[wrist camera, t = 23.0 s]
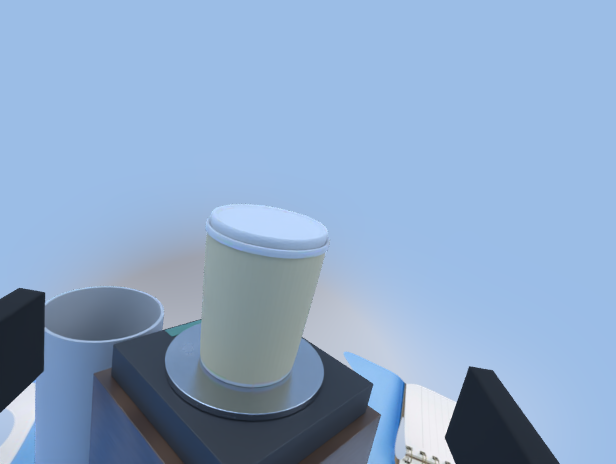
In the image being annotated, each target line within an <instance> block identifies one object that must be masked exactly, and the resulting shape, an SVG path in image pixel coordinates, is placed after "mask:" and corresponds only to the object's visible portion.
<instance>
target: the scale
mask: <svg viewBox="0 0 616 464" xmlns="http://www.w3.org/2000/svg"><path fill="white" fill-rule="evenodd" d="M201 321H202V319H200V320H196V321H193V322H189V323H186V324H182V325H179V326H176V327H172V328H168V329H165V330H161V331H158V332H154V333H151V334H147V335H144V336H141V337H137V338H134V339H130V340H127V341H123V342H120V343H116V344H113V355H112V370H111V376H112V377H113V378H114V379H115V380H116V382H117V383H118V384H119V385H120V386H121V388H122V389H123V390H124V391H125V392H126V394H127V395H128V396H129V397H130V399H131V400H132V401H133V402H134V403H135V405H136V406H137V407H138V408H139V409H140V411H141V412H142V413H143V414H144V415H145V417H146V418H147V419H148V420H149V422H150V423H151V424H152V425H153V426H154V428H155V429H156V430H157V431H158V432H159V434H160V435H161V436H162V437H163V438H164V440H165V441H166V442H167V443H168V444H169V446H170V447H171V448H172V449H173V451H174V452H175V453H176V454H177V455H178V457H179V458H180V459H181V460H182V461H183V463H184V464H298V463H299V462H301V461H302V460H303V459H305V458H306V457H307V456H309V455H310V454H311V453H313V452H314V451H315V450H316V449H318V448H319V447H320V446H322V445H323V444H324V443H326V442H327V441H328V440H330V439H331V438H332V437H334V436H335V435H336V434H338V433H339V432H340V431H342V430H343V429H344V428H346V427H347V426H348V425H349V424H351V423H352V422H353V421H355V420H356V419H357V418H359V417H360V416H361V415H363V414H364V413H365V412H366V409H367V405H368V401H369V398H370V394H371V390H372V387H373V383H371V382H370V381H368V380H367V379H365V378H364V377H362V376H361V375H359V374H358V373H356V372H354V371H353V370H351V369H350V368H348V367H347V366H345V365H343V364H342V363H341V362H339V361H338V360H336V359H335V358H333V357H332V356H330V355H328V354H327V353H326V352H324V351H322V350H321V349H319V348H318V347H316V346H315V345H313V344H312V343H310V342H308V341H307V340H306V339H304V338H303V337H302V338H303V339H304V340H306V341H307V342H308V343H309V344H310V345H311V346H312V347H313V348H314V349H315V350H316V352H317V353H318V355H319V356H320V358H321V361H322V364H323V368H324V378H323V383H322V386H321V389H320V391H319V393H318V394H317V396H316V397H315V399H314V400H313V401H312V402H311V403H310V404H308V405H307V406H306V407H304V408H303V409H301V410H299V411H297V412H295V413H293V414H290V415H287V416H285V417H281V418H276V419H271V420H263V421H244V420H234V419H228V418H223V417H220V416H216V415H213V414H210V413H207V412H205V411H202V410H200V409H198V408H196V407H194V406H193V405H191V404H190V403H188V402H187V401H185V400H184V399H183V398H181V397H180V396H179V395H178V394H177V393H176V392H175V391H174V389H173V388H172V387H171V385H170V384H169V382H168V380H167V377H166V374H165V369H164V363H165V355H166V351H167V349H168V347H169V345H170V343H171V342H172V341H173V340H174V339H175V337H176V336H178V335H179V334H180V333H181V332H183V331H185V330H186V329H188V328H190V327H192V326H194V325H197V324H200V323H201Z"/></svg>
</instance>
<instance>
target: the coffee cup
mask: <svg viewBox="0 0 616 464" xmlns="http://www.w3.org/2000/svg"><path fill="white" fill-rule="evenodd" d="M206 231H207V239H206V252H205V267H204V285H203V302H202V321H201V340H200V357H201V362H202V364H203V366H204V368H205V369H206V370H207V371H208V372H209V373H210V374H211V375H212V376H214V377H215V378H217V379H219V380H221V381H223V382H225V383H228V384H232V385H235V386H240V387H250V388H255V387H265V386H269V385H272V384H275V383H277V382H279V381H281V380H283V379H284V378H285V377H286V376H287V375H288V374H289V373H290V371H291V369H292V367H293V364H294V361H295V358H296V355H297V351H298V348H299V344H300V341H301V338H302V334H303V331H304V327H305V324H306V320H307V317H308V314H309V310H310V307H311V303H312V300H313V296H314V292H315V289H316V285H317V282H318V278H319V275H320V271H321V267H322V264H323V260H324V256H325V252H326V251H327V250H328V248H329V244H330V240H329V237H328V231H327V229H326V227H325V226H324V225H323V224H321V223H320V222H318V221H316V220H314V219H312V218H310V217H307V216H305V215H302V214H299V213H295V212H292V211H289V210H284V209H280V208H275V207H269V206H261V205H250V204H231V205H224V206H220V207H217V208H216V209H214V210H213V211H212V213H211V216H210V217H209V218H208V219H207V221H206Z"/></svg>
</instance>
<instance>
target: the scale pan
mask: <svg viewBox="0 0 616 464" xmlns="http://www.w3.org/2000/svg"><path fill="white" fill-rule="evenodd" d="M200 340H201V323H200V324H197V325H194V326H192V327H190V328H188V329H186V330H185V331H183V332H181V333H180V334H179V335H178V336H176V337H175V339H174V340H173V341H172V342H171V343H170V345H169V347H168V349H167V351H166V355H165V363H164V369H165V374H166V377H167V380H168V382H169V384H170V385H171V387H172V388H173V389H174V391H175V392H176V393H177V394H178V395H179V396H180V397H181V398H183V399H184V400H185V401H187V402H188V403H190V404H191V405H193V406H194V407H196V408H198V409H200V410H202V411H205V412H207V413H210V414H213V415H216V416H220V417H223V418H228V419H234V420H244V421H263V420H271V419H276V418H281V417H285V416H287V415H290V414H293V413H295V412H297V411H299V410H301V409H303V408H304V407H306V406H307V405H308V404H310V403H311V402H312V401H313V400H314V399H315V397H316V396H317V394H318V393H319V391H320V389H321V386H322V383H323V378H324V368H323V364H322V361H321V358H320V356H319V355H318V353H317V352H316V350H315V349H314V348H313V347H312V346H311V345H310V344H309V343H308V342H307V341H306V340H304V339H303V338H301V341H300V344H299V348H298V351H297V355H296V358H295V361H294V364H293V367H292V369H291V371H290V373H289V374H288V375H287V376H286V377H285V378H284V379H283V380H281V381H279V382H277V383H275V384H272V385H269V386H265V387H255V388H250V387H240V386H235V385H232V384H228V383H225V382H223V381H221V380H219V379H217V378H215V377H214V376H212V375H211V374H210V373H209V372H208V371H207V370H206V369H205V368H204V366H203V364H202V362H201V357H200Z"/></svg>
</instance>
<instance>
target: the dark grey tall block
mask: <svg viewBox="0 0 616 464" xmlns="http://www.w3.org/2000/svg"><path fill="white" fill-rule="evenodd" d="M111 370H112V367H111V368H108V369H105V370H102V371H99V372H96V373H94V374H93V393H92V412H91V430H90V449H89V464H184V463H183V461H182V460H181V459H180V458H179V457H178V455H177V454H176V453H175V452H174V451H173V449H172V448H171V447H170V446H169V444H168V443H167V442H166V441H165V440H164V438H163V437H162V436H161V435H160V434H159V432H158V431H157V430H156V429H155V428H154V426H153V425H152V424H151V423H150V422H149V420H148V419H147V418H146V417H145V415H144V414H143V413H142V412H141V411H140V409H139V408H138V407H137V406H136V405H135V403H134V402H133V401H132V400H131V399H130V397H129V396H128V395H127V394H126V392H125V391H124V390H123V389H122V388H121V386H120V385H119V384H118V383H117V382H116V380H115V379H114V378H113V377H112V376H111ZM380 416H381V414H379V413H378V412H376V411H375V410H374V409H372V408H371V407H369V406H368V405H367V409H366V412H365V413H364V414H363V415H361V416H360V417H359V418H357V419H356V420H355V421H353V422H352V423H351V424H349V425H348V426H347V427H346V428H344V429H343V430H342V431H340V432H339V433H338V434H336V435H335V436H334V437H332V438H331V439H330V440H328V441H327V442H326V443H324V444H323V445H322V446H320V447H319V448H318V449H316V450H315V451H314V452H313V453H311V454H310V455H309V456H307V457H306V458H305V459H303V460H302V461H301V462H299V463H298V464H367V462H368V458H369V455H370V451H371V448H372V444H373V441H374V437H375V434H376V430H377V427H378V423H379V420H380Z"/></svg>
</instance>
